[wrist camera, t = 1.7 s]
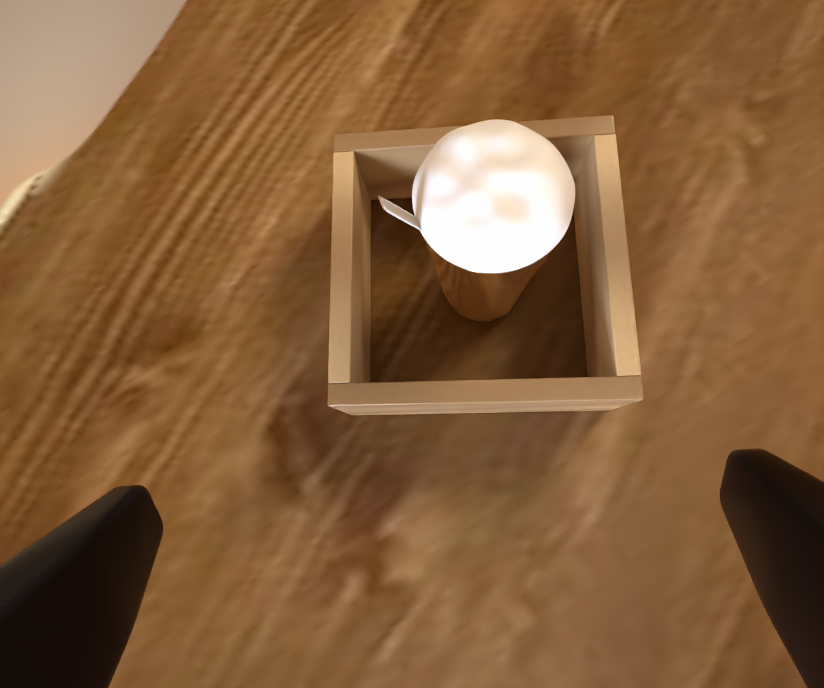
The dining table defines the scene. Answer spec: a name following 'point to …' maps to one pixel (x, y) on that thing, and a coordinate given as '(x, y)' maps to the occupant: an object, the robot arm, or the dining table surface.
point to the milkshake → (489, 212)
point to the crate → (597, 260)
